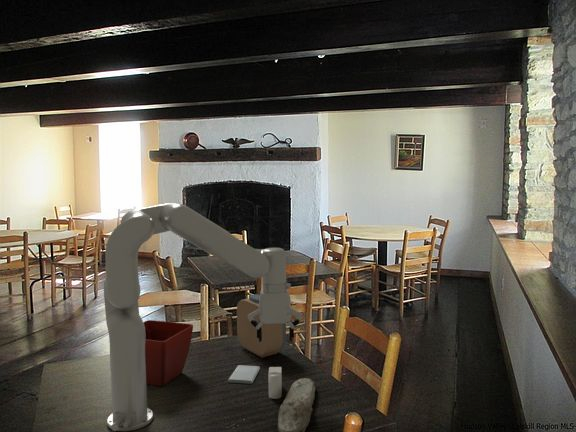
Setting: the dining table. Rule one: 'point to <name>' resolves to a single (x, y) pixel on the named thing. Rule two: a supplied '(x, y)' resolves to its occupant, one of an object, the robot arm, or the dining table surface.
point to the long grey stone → (297, 407)
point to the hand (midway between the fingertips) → (275, 340)
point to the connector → (275, 382)
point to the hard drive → (244, 374)
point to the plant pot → (165, 350)
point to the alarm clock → (248, 333)
